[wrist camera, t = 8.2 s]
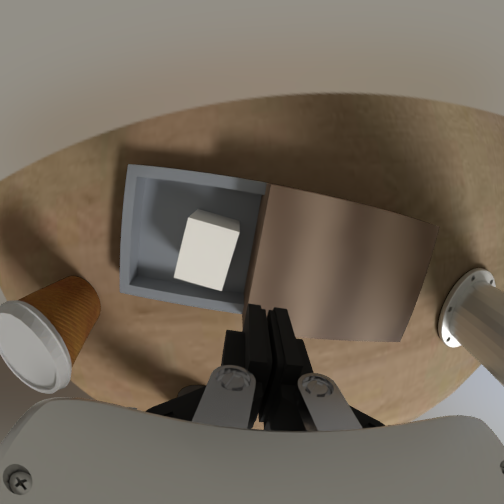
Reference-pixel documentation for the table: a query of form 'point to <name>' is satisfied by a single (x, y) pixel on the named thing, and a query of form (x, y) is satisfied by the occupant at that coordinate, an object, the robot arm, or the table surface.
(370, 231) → the brown wooden box
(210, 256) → the white block
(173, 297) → the box
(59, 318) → the disposable coffee cup
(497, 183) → the table surface
